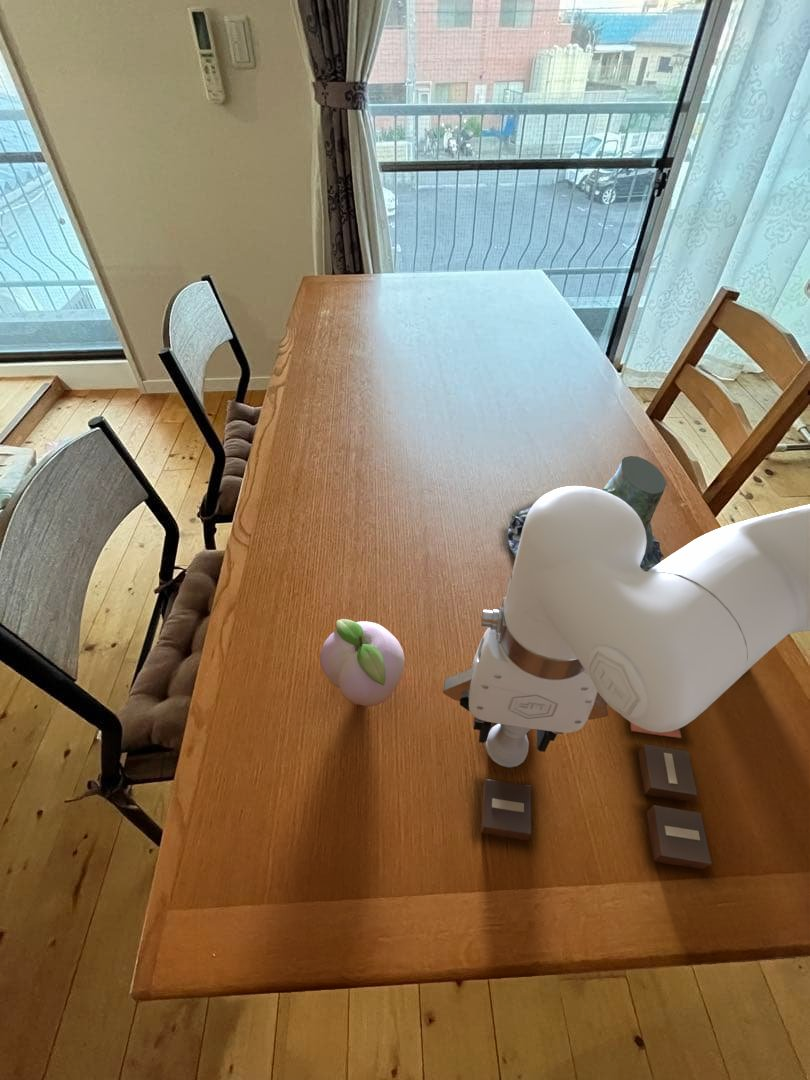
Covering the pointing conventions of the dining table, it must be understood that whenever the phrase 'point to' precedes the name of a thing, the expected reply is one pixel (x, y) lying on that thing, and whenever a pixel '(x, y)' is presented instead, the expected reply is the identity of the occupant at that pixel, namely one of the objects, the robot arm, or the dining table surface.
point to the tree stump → (633, 486)
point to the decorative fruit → (362, 661)
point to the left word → (506, 810)
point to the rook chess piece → (507, 744)
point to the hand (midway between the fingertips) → (511, 732)
